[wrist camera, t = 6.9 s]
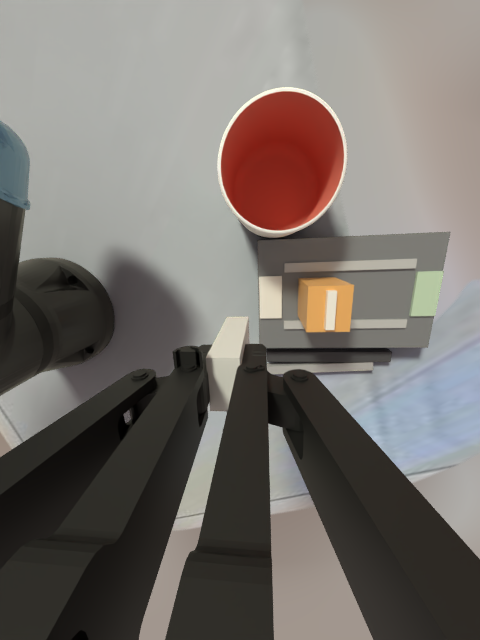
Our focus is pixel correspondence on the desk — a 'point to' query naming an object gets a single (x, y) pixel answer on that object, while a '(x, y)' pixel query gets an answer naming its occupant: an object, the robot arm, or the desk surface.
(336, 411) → the robot arm
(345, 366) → the cord grey
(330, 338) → the box
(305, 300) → the breaker toggle
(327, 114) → the cup
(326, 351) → the black bar
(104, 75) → the desk surface
